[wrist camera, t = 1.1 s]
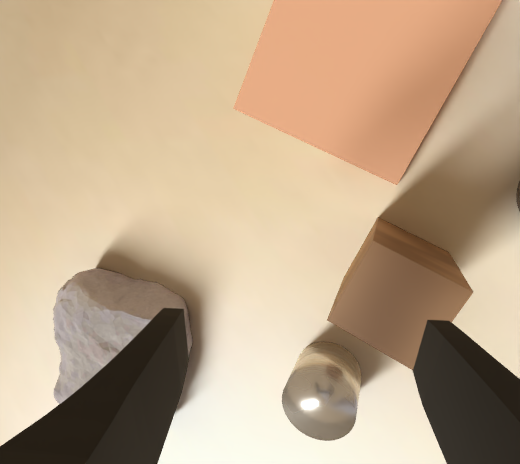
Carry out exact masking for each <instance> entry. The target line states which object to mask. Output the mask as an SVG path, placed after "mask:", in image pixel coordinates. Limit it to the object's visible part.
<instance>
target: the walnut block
mask: <svg viewBox="0 0 520 464" xmlns="http://www.w3.org/2000/svg"><path fill="white" fill-rule="evenodd" d="M472 293H473V291H472V289H471V287H470V286H469V284H468V283H467V281H466V279H465V278H464V276H463V274H462V273H461V271H460V270H459V268H458V266H457V265H456V263H455V261H454V260H453V258H452V257H451V255H450V253H449V252H447V251H445V250H443V249H441V248H439V247H437V246H435V245H433V244H431V243H429V242H427V241H425V240H423V239H421V238H419V237H417V236H415V235H413V234H411V233H409V232H407V231H405V230H403V229H401V228H399V227H397V226H395V225H393V224H391V223H389V222H387V221H384V220H382V219H380V218H377V220H376V222H375V224H374V225H373V227H372V229H371V231H370V232H369V234H368V236H367V238H366V239H365V241H364V243H363V245H362V246H361V248H360V250H359V252H358V253H357V255H356V257H355V259H354V260H353V262H352V264H351V266H350V268H349V269H348V271H347V273H346V275H345V276H344V278H343V281H342V284H341V286H340V289H339V291H338V294H337V296H336V299H335V301H334V304H333V306H332V309H331V311H330V314H329V316H328V319H327V320H328V321H329V322H331V323H333V324H335V325H336V326H338V327H340V328H341V329H343V330H345V331H347V332H348V333H350V334H352V335H353V336H355V337H357V338H359V339H360V340H362V341H364V342H365V343H367V344H369V345H371V346H372V347H374V348H376V349H377V350H379V351H381V352H383V353H384V354H386V355H388V356H389V357H391V358H393V359H395V360H396V361H398V362H400V363H401V364H403V365H405V366H407V367H408V368H410V369H412V370H413V368H414V365H415V361H416V358H417V354H418V351H419V347H420V344H421V340H422V337H423V334H424V330H425V327H426V323H427V320H445V321H450V322H452V321H453V319H454V318H455V317H456V315H457V314H458V313H459V311H460V310H461V308H462V307H463V306H464V304H465V303H466V301H467V300H468V299H469V297H470V296H471V295H472Z"/></svg>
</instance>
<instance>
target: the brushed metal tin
mask: <svg viewBox="0 0 520 464" xmlns="http://www.w3.org/2000/svg"><path fill="white" fill-rule="evenodd" d="M360 385H361V370H360V366H359V364H358V362H357V360H356V359H355V357H354V356H353V355H352V354H351V353H350V352H349V351H348V350H346V349H345V348H343V347H342V346H340V345H337V344H334V343H330V342H317V343H313V344H311V345H309V346H307V347H306V348H305V349H304V350H303V351H302V352H301V354H300V356H299V358H298V360H297V362H296V364H295V367H294V369H293V371H292V373H291V375H290V377H289V379H288V382H287V384H286V386H285V388H284V390H283V394H282V404H283V408H284V411H285V414H286V416H287V417H288V419H289V420H290V422H291V423H292V424H293V425H294V426H295V427H296V428H297V429H298V430H299V431H301V432H302V433H304V434H305V435H307V436H309V437H312V438H315V439H318V440H325V441H330V440H336V439H339V438H342V437H344V436H345V435H347V434H348V433H349V432H350V431H351V429H352V428H353V426H354V424H355V420H356V414H357V406H358V399H359V392H360Z"/></svg>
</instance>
